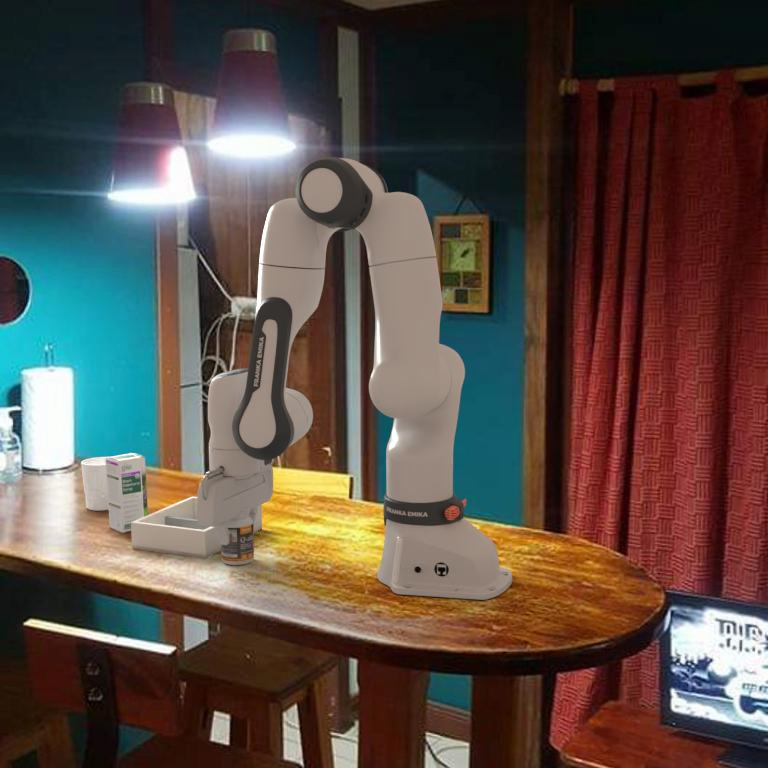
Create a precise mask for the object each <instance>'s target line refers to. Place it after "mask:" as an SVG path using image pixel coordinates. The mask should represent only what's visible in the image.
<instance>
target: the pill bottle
mask: <svg viewBox="0 0 768 768" xmlns="http://www.w3.org/2000/svg"><path fill="white" fill-rule="evenodd" d="M249 513H250V507H249V506H248V507H246V508H243V509H241V513H240V515H239V516H237V517H234V518H232V519H230V520H229V526H227V527H228V530H229V533H232V542H231V543H230V544H228V545H221V551H220V553H221V561H222V563H224V564H226V565H229V566H242V565H246V564H249V563H252V562H253V561H254V560H255V559H254V558H255V547H254V545H255V544H254V543H255V542H254V539H255V538H254V534H255V533H254V534H253V520H252V519H251V518H250V517H249Z"/></svg>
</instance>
